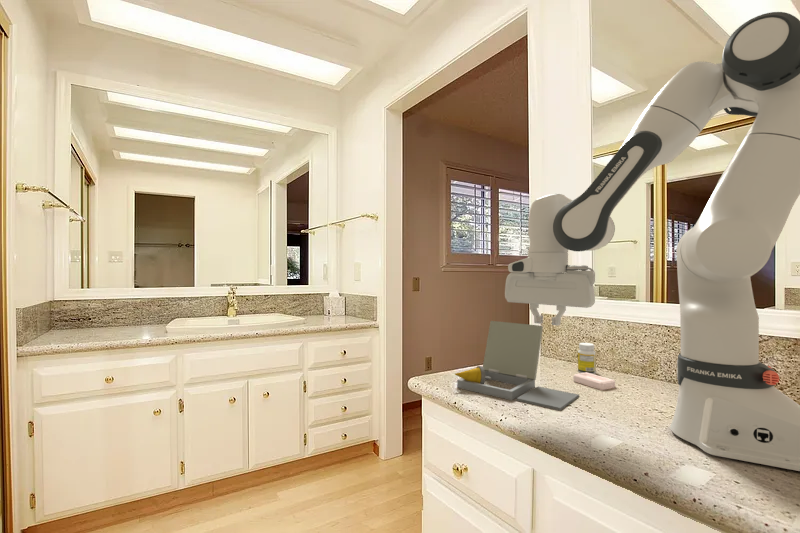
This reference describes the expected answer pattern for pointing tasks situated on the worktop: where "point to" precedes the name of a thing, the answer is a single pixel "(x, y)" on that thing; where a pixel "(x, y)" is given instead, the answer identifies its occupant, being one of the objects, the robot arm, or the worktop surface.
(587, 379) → the soap bar
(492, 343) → the equipment case
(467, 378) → the yellow cone
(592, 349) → the supplement bottle
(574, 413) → the worktop surface
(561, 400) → the rubber mat
